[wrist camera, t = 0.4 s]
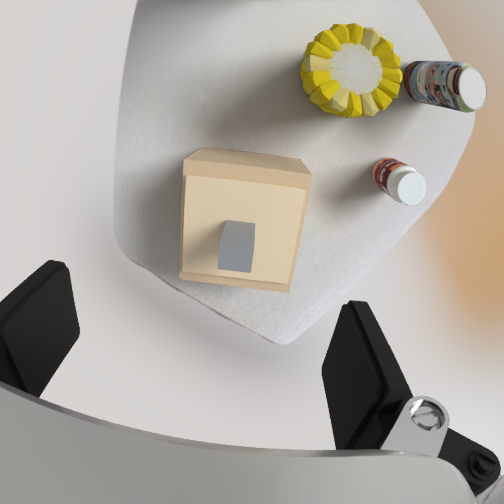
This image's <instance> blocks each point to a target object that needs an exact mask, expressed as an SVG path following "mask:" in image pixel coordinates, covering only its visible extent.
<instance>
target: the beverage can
mask: <svg viewBox="0 0 504 504" xmlns="http://www.w3.org/2000/svg"><path fill="white" fill-rule="evenodd" d="M404 84H405V88H406V90H407V92H408V94H409V95H410V96H411V97H412V98H413V99H414V100H415V101H417V102H421V103H426V104H431V105H436V106H440V107H445V108H449V109H454V110H458V111H462V112H473V111H475V110H477V109H480V108H481V107H482V106H483V105H484V103H485V101H486V98H487V86H486V82H485V79H484V78H483V75H482V74H481V73H480V72H479V71H478V70H477V69H475V68H474V67H472V66H471V65H469V64H467V63H465V62H451V61H415V62H412V63H411V64H409V65H408V67H407V68H406V70H405V73H404Z"/></svg>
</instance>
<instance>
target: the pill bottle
mask: <svg viewBox="0 0 504 504" xmlns="http://www.w3.org/2000/svg"><path fill="white" fill-rule="evenodd" d="M373 179H374V182H375V184H376V185H377V186H378V187H379V188H380V189H382V190H383V191H384V192H385V193H387V194H388V195H389V196H390V197H392V198H393V199H394V200H396V201H398V202H402V203H404V204H406V205H415V204H418V203H419V202H420V201H421V200H422V199H423V198H424V196H425V194H426V182H425V180H424V178H423V177H422V176H421V175H420V174H418V173H417V171H416V170H415V169H414V168H412V167H411V166H408V165H406V164H404V163H402V162H400V161H398V160H396V159H393V158H383V159H381V160H379V161H378V162H377V163H376V164H375V166H374V169H373Z"/></svg>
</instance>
